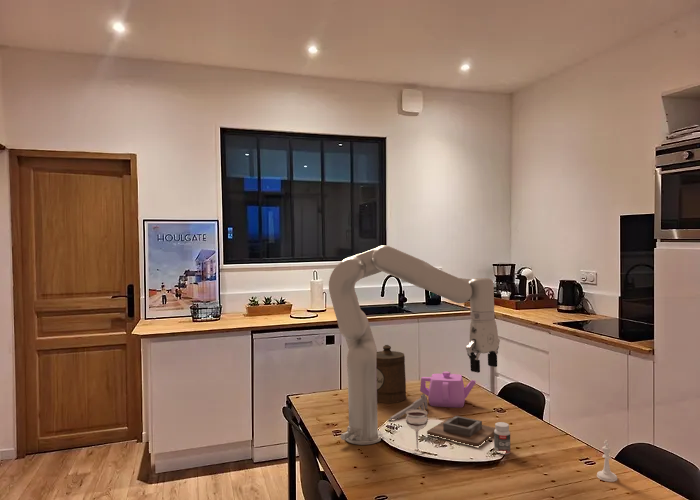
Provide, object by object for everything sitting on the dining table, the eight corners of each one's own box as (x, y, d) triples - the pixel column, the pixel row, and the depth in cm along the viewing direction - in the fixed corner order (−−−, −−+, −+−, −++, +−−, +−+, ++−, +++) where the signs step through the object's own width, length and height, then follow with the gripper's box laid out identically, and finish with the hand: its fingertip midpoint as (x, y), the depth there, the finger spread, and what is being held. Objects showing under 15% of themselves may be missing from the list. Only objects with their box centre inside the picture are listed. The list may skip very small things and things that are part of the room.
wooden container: (366, 394, 216) (365, 342, 216) (400, 391, 219) (399, 340, 218) (374, 404, 201) (373, 349, 201) (410, 401, 204) (409, 347, 204)
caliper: (425, 409, 196) (424, 392, 196) (427, 409, 195) (427, 393, 195) (388, 421, 182) (387, 404, 182) (390, 422, 182) (389, 405, 182)
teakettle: (417, 401, 205) (416, 370, 205) (448, 393, 214) (447, 364, 214) (446, 412, 191) (445, 380, 190) (478, 404, 200) (477, 373, 200)
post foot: (478, 448, 157) (477, 435, 156) (427, 435, 168) (426, 423, 168) (498, 432, 169) (498, 420, 169) (449, 421, 180) (449, 410, 180)
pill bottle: (499, 455, 151) (499, 427, 151) (491, 449, 155) (490, 422, 155) (513, 453, 152) (513, 426, 152) (504, 447, 157) (504, 420, 157)
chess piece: (610, 473, 138) (610, 436, 138) (621, 481, 133) (620, 443, 133) (593, 473, 138) (592, 437, 138) (602, 482, 133) (602, 444, 133)
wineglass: (431, 449, 156) (431, 411, 156) (423, 457, 150) (422, 417, 150) (411, 445, 160) (410, 407, 160) (402, 453, 154) (401, 414, 154)
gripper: (476, 320, 155) (478, 376, 155) (507, 314, 166) (509, 365, 166) (456, 318, 160) (458, 372, 161) (487, 312, 172) (489, 362, 172)
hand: (484, 368), depth 164 cm, fingers open, 9 cm apart
